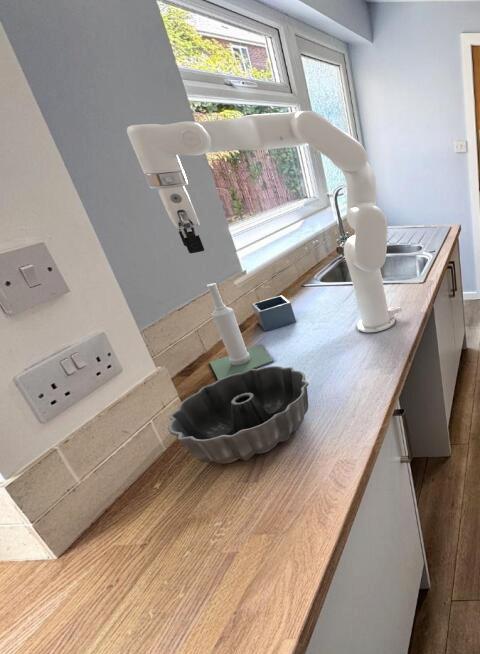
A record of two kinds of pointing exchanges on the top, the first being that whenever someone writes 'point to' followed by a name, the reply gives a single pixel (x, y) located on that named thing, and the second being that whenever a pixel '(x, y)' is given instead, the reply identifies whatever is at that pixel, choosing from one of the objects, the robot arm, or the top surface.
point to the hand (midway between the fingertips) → (194, 248)
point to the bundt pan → (241, 414)
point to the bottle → (228, 329)
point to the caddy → (274, 312)
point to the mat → (257, 359)
